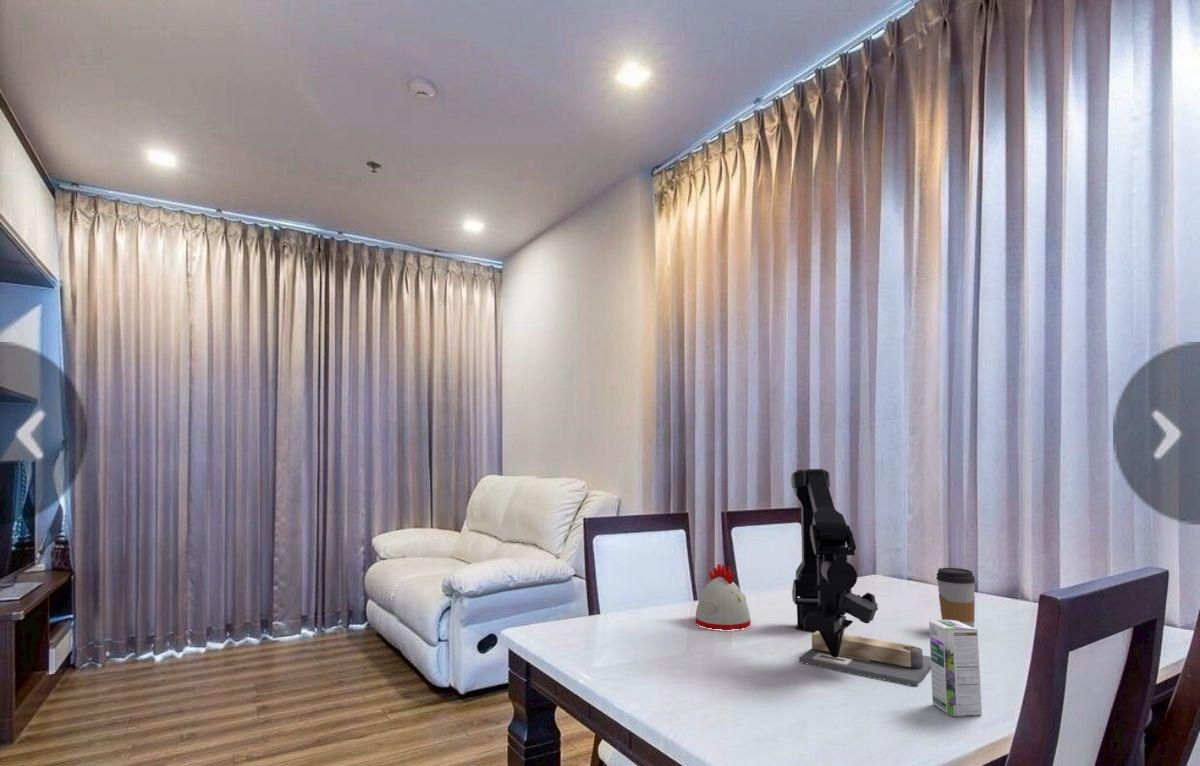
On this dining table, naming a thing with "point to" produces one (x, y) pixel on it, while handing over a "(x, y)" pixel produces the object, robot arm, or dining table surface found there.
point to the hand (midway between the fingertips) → (835, 656)
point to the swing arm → (874, 650)
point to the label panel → (868, 666)
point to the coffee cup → (956, 595)
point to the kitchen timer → (722, 603)
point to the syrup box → (955, 667)
